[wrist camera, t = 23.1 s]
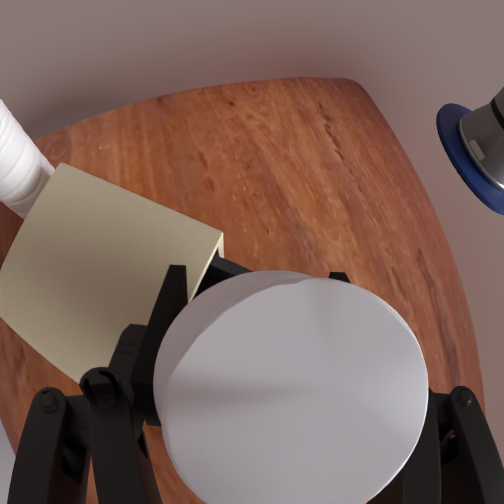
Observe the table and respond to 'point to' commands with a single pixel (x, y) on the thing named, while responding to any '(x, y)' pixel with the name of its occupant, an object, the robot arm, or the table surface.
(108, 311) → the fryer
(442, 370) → the table surface
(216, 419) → the supplement bottle
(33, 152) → the water bottle
